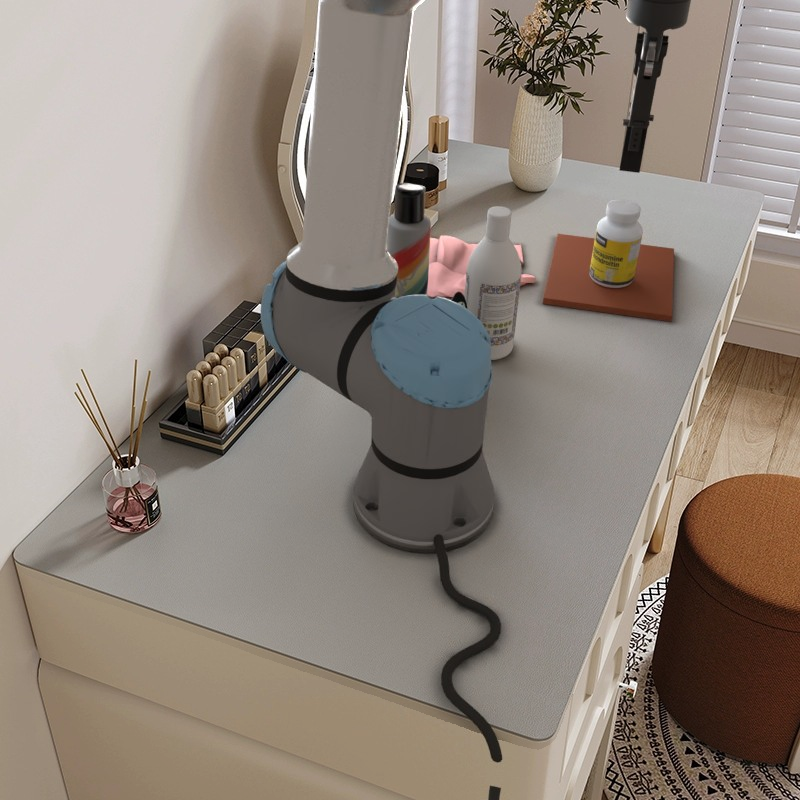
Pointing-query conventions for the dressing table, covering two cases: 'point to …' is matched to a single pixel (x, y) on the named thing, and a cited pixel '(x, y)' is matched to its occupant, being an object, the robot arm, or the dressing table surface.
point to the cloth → (454, 266)
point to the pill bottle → (617, 245)
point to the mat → (579, 291)
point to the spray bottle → (410, 240)
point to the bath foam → (495, 282)
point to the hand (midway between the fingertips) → (629, 169)
